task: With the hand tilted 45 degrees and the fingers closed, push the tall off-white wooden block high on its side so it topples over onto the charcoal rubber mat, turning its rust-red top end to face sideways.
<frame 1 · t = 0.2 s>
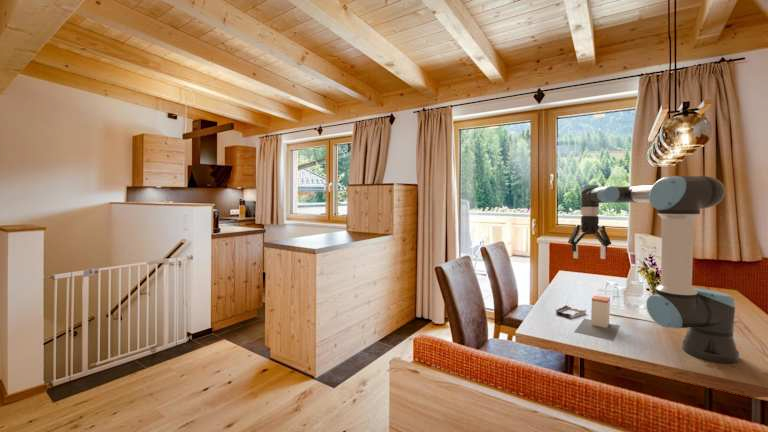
hand: (589, 258, 171), 27 cm above the table, tool pointing down, fingers open, 13 cm apart
charcoal mat: (597, 329, 150), on the table
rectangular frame: (569, 315, 169), on the table
off-white block: (600, 324, 154), resting on charcoal mat
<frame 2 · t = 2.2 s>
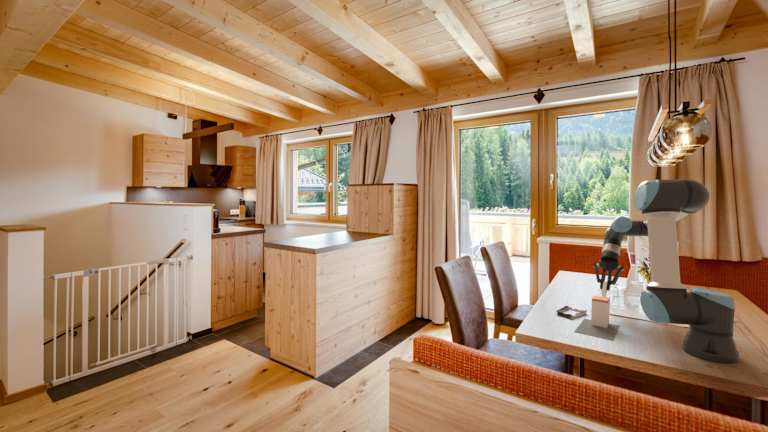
hand: (603, 295, 161), 11 cm above the table, tool tilted 45°, fingers closed
nothing on the table moved.
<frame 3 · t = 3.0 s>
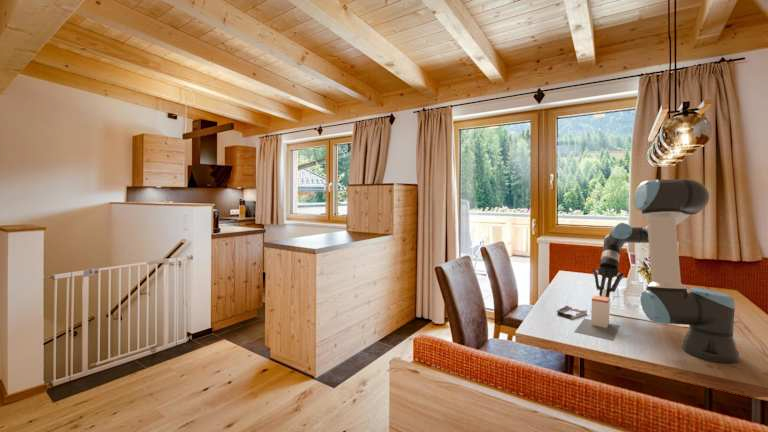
hand: (603, 302, 159), 9 cm above the table, tool tilted 45°, fingers closed
nothing on the table moved.
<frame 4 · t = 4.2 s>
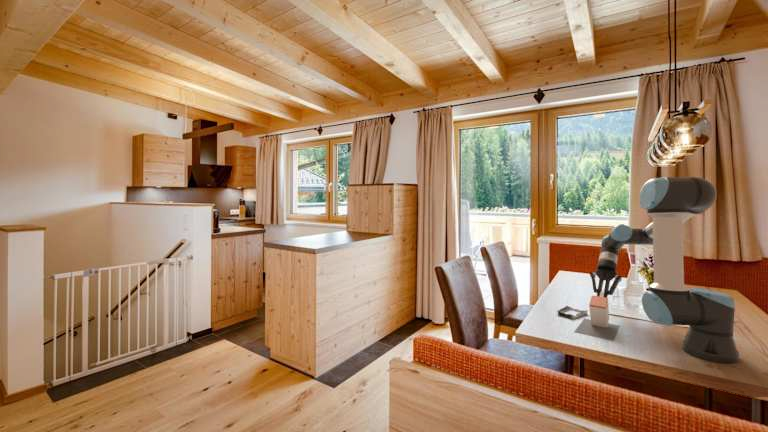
hand: (600, 306, 154), 9 cm above the table, tool tilted 45°, fingers closed
off-white block: (600, 321, 154), point 2 cm above the table, tilted 27°, touching charcoal mat
everything else where it was.
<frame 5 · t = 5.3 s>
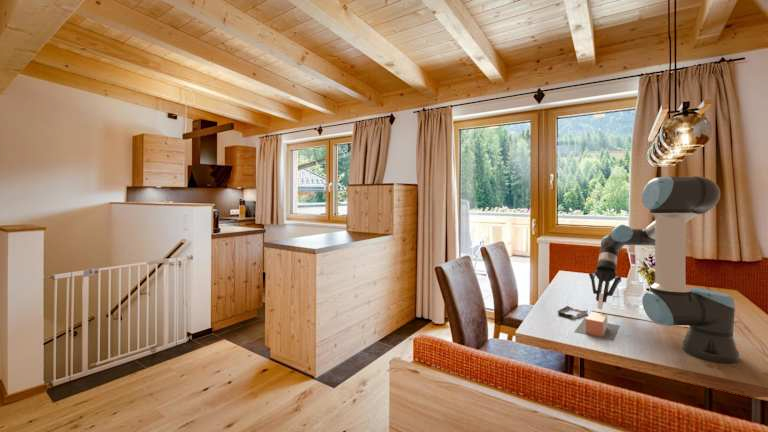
hand: (599, 307, 152), 9 cm above the table, tool tilted 45°, fingers closed
off-white block: (599, 319, 152), point 3 cm above the table, tilted 90°, touching charcoal mat
everything else where it was.
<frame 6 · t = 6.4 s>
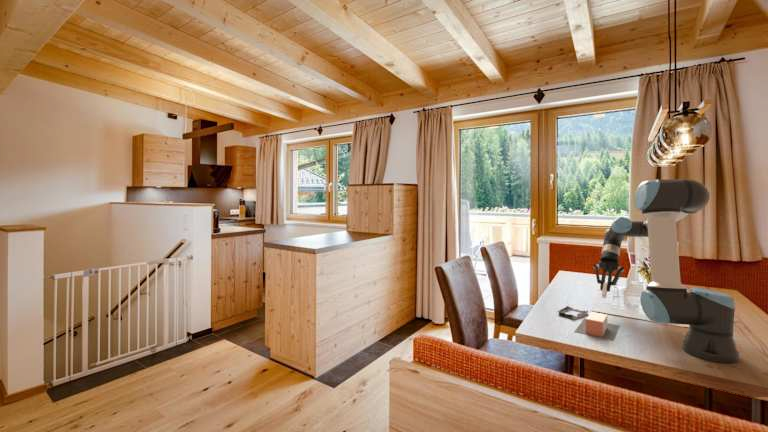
hand: (603, 296, 160), 11 cm above the table, tool tilted 45°, fingers closed
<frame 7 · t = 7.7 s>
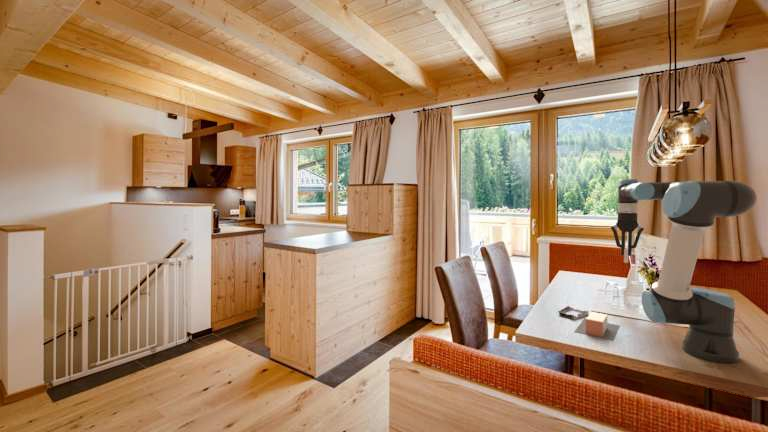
hand: (626, 262, 162), 26 cm above the table, tool pointing down, fingers closed
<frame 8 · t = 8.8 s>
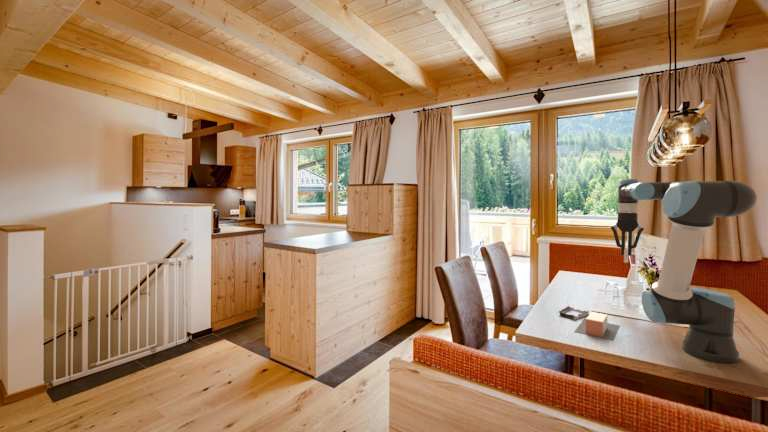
hand: (626, 262, 162), 26 cm above the table, tool pointing down, fingers closed
at the end: off-white block tilted 90°; off-white block inside the target area (0.1 cm from its centre), point 3.3 cm above the table; off-white block touching charcoal mat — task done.
